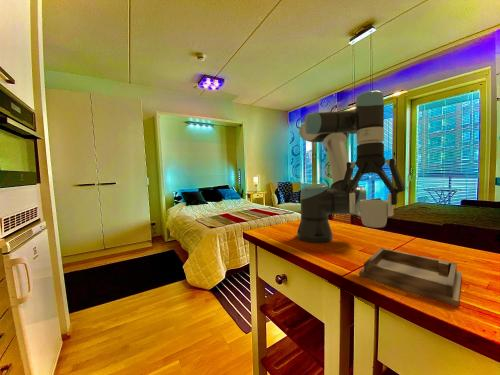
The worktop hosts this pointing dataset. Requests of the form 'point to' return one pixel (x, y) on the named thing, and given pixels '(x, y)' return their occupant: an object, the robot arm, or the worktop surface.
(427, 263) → the square wooden tray
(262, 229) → the worktop surface
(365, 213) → the cup
